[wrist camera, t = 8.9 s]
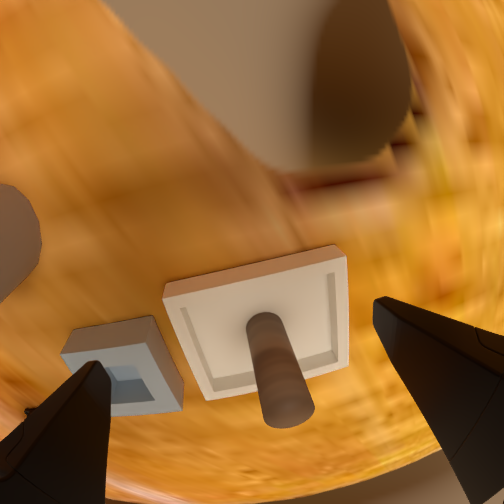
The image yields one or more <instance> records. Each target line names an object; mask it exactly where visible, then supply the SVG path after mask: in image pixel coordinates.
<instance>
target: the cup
mask: <svg viewBox="0 0 504 504" xmlns="http://www.w3.org/2000/svg"><path fill="white" fill-rule="evenodd" d="M41 247H42V241H41V234H40V227H39V221H38V219H37V217H36V215H35V212H34V210H33V208H32V206H31V204H30V202H29V200H28V199H27V198H26V197H25V196H24V195H23V194H22V193H21V192H20V191H18V190H17V189H16V188H15V187H14V186H9V185H5V184H0V303H1V302H2V301H3V300H4V299H5V298H6V297H7V296H8V295H9V294H10V293H11V292H12V291H13V290H14V289H15V288H16V287H17V286H18V285H19V284H20V283H21V282H22V281H23V280H24V279H25V278H26V277H27V276H28V275H29V274H30V273H31V271H32V270H33V269H34V268H35V267H36V265H37V264H38V261H39V256H40V251H41Z"/></svg>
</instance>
